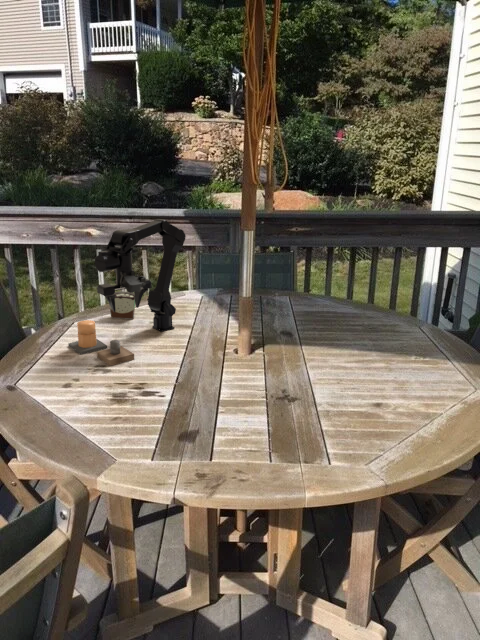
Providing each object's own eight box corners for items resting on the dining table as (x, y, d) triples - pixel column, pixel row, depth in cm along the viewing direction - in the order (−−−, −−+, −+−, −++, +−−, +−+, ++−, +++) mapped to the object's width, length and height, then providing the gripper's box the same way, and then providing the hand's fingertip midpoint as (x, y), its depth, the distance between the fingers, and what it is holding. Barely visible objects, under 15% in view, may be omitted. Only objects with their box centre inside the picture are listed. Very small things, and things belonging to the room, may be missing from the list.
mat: (94, 339, 197) (94, 337, 196) (107, 348, 189) (107, 345, 189) (68, 345, 190) (68, 343, 190) (80, 354, 183) (80, 351, 183)
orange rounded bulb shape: (96, 340, 193) (95, 319, 190) (96, 346, 187) (94, 325, 185) (79, 341, 192) (77, 320, 189) (78, 348, 186) (76, 326, 184)
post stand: (121, 351, 187) (120, 335, 185) (134, 359, 180) (133, 342, 179) (97, 357, 181) (96, 340, 179) (109, 365, 175) (108, 348, 173)
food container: (141, 314, 225) (140, 291, 222) (137, 319, 220) (136, 295, 216) (112, 313, 227) (111, 290, 223) (107, 317, 221) (106, 294, 217)
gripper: (110, 275, 176) (112, 320, 181) (159, 268, 187) (160, 310, 192) (95, 268, 184) (97, 312, 189) (142, 262, 195) (144, 303, 200)
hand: (125, 309), depth 192 cm, fingers open, 9 cm apart
